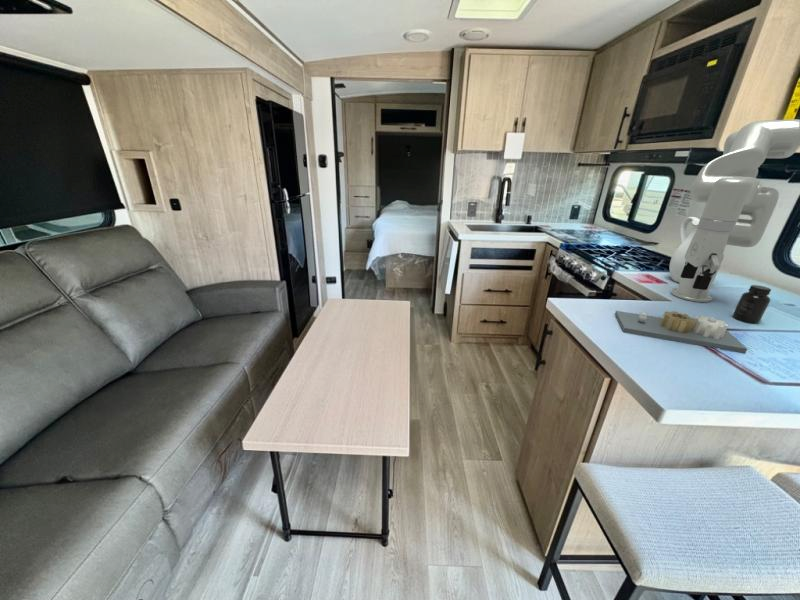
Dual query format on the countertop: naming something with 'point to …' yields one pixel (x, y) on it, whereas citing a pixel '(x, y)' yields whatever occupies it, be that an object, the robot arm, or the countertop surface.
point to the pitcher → (682, 249)
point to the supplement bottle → (752, 304)
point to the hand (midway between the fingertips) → (692, 283)
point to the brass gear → (677, 322)
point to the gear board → (700, 333)
